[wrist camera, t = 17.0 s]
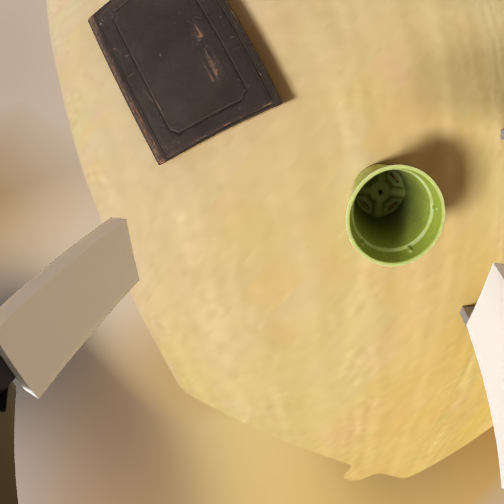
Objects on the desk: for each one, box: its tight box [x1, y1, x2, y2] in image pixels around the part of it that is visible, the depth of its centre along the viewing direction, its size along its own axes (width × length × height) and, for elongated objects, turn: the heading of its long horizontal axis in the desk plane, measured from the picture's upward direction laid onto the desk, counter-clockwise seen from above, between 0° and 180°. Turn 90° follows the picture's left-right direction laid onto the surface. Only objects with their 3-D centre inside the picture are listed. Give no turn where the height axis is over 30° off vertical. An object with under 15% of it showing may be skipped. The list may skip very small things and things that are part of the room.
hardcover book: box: [88, 0, 283, 165], centre depth 28 cm, size 16×23×2 cm
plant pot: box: [346, 164, 445, 266], centre depth 28 cm, size 9×9×9 cm
